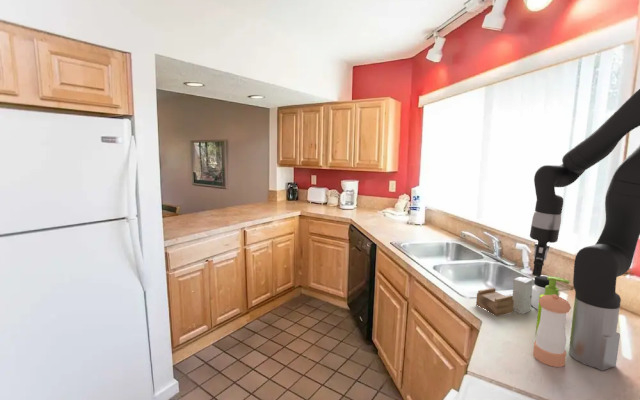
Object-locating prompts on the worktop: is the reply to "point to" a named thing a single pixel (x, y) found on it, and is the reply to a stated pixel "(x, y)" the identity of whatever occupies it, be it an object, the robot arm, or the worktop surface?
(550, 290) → the soap dispenser
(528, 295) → the skincare box
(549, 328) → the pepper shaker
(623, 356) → the worktop surface
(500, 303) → the display pedestal
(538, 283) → the medicine bottle
